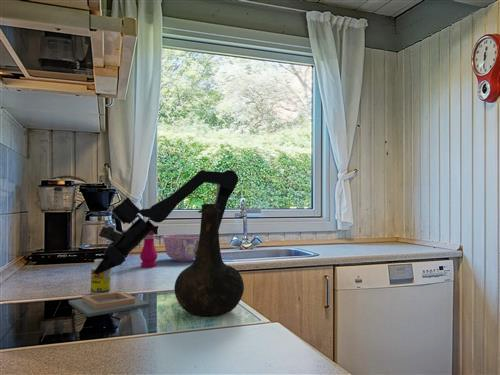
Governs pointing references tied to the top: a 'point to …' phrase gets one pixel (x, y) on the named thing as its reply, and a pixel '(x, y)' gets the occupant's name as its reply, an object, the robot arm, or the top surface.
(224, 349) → the top surface
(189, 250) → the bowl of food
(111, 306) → the dock
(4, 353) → the top surface
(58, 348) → the top surface
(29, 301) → the top surface
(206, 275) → the dark brown vase
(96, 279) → the supplement bottle
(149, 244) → the pepper mill
